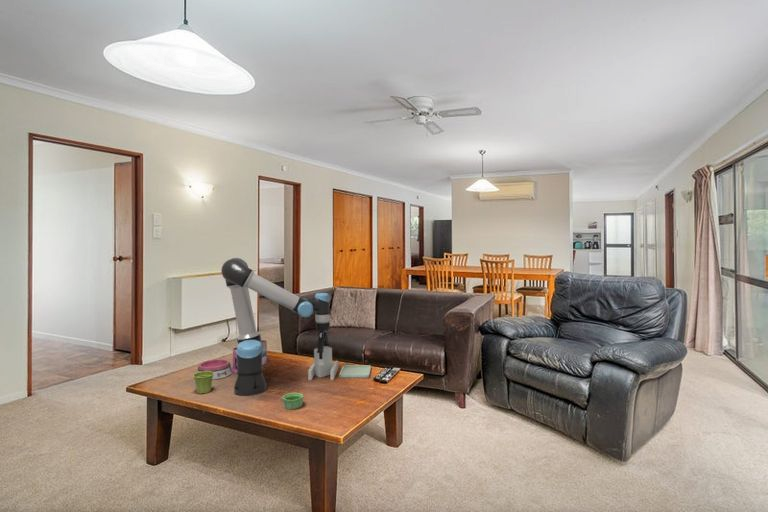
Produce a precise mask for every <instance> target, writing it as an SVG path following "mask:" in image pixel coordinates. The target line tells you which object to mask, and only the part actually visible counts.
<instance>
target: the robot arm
mask: <svg viewBox="0 0 768 512" xmlns="http://www.w3.org/2000/svg"><path fill="white" fill-rule="evenodd" d="M220 271H221V276H222V277H223V278H224V280H225V285H226V287H227V288H228V289H229V290H230V294H231V300H232V303H233V304H232V305H233V308H234V314H235V319H236V324H237V329H238V336H237V338H236V342H237V346H236V347H237V350H236V351H237V373H236V374H237V375H236V376H237V377H236V379H235V383H234V386H233V393H234V394H236V395H238V396H254V395H258V394H261V393H264V392H265V391H266V390H267V382H266V380H265V379H266V378H265V377H264V374H263V365H262V353H263V343H262V341H261V340H262V337H261V333H260V332H259V331H258V330H257V327H256V321H255V316H254V312H253V311H254V310H253V306H252V301H251V295H250V290H251V291H253V292H255V293H258V294H259V295H261V296H263V297H265V298H268V299H269V300H271V301H273V302H275V303H277V304H279V305H281V306H284V307H285V308H287V309H289V310H291V311H292V312H293V313H296V314H298V315H299V316H300V317H302V318H309V317H310V316H311V315H312V314H313V313H314V312H315V330H317V331H319V332H318V334H317V336H318V340H317V348H318V351H317V353H318V365H324V352H323V348H324V346H328V347H330V343H329V337H328V330H330V328H331V326H330V325H331V323H330V321H331V319H330V318H331V317H332V316H331V315H330V295H329V293H326V292H317V293H315V295H314V297H313V296H312V297H300V296H298V295H297V294H295V293H292V292H291V291H289V290H287V289H285V288H284V287H281V286H279V285H277V284H276V283H273V282H272V281H270V280H268V279H266V278H264V277H262V276H260V275H258V274H256V273H255V272H254V269H251V268H250V267H249V265H248V264H247V261H245V260H244V259H242V258H241V257H233V258H230V259H228V260H225V261H224V263H222V266H221V270H220ZM249 289H250V290H249Z"/></svg>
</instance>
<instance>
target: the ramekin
mask: <svg viewBox="0 0 768 512" xmlns="http://www.w3.org/2000/svg"><path fill="white" fill-rule="evenodd" d="M303 398H304V395H303V393H301V392H290V393H286V394H284V395H283V396H282V402H283V407H284V409H286V410H298V409H299V408H301V407H302V406H303V401H304V400H303Z"/></svg>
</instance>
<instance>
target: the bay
mask: <svg viewBox="0 0 768 512" xmlns="http://www.w3.org/2000/svg"><path fill="white" fill-rule="evenodd" d="M339 367H340V365H339V360H334V362H333V363H332V368H331V370H330V375H329V377H330V381H335V377H336V375H337V374H338V371H339ZM307 374H308V375H307V377H308V378H307V380H308V381H312V380H313V379H314V377H315V376H316V375H315V366H314V362H312V364H311V365H310V367H309V369H308V370H307ZM313 376H314V377H313Z"/></svg>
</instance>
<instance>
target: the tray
mask: <svg viewBox="0 0 768 512" xmlns="http://www.w3.org/2000/svg"><path fill="white" fill-rule="evenodd" d="M371 369H372V365H371V364H368V365H367V364H365V365H364V364H357V365H356V364H344V365H342V366H341V369H340V372H339V374H338V379H370V374H371Z"/></svg>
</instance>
